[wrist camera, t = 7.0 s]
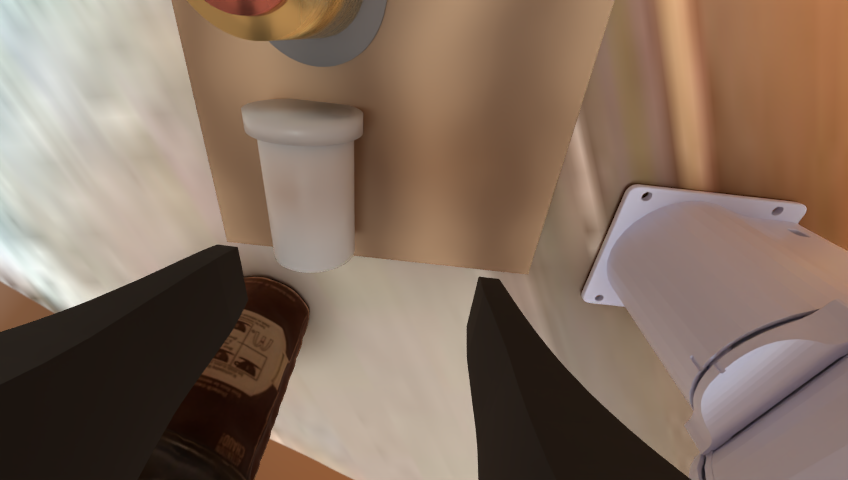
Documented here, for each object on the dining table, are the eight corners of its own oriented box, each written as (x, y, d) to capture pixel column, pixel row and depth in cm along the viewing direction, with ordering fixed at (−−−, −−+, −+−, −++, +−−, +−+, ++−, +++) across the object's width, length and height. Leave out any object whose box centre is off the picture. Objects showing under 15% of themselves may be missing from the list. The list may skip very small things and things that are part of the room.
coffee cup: (193, 248, 22) (-59, 465, 11) (322, 265, 22) (202, 496, 11) (217, 342, 27) (56, 564, 16) (325, 356, 27) (241, 585, 16)
